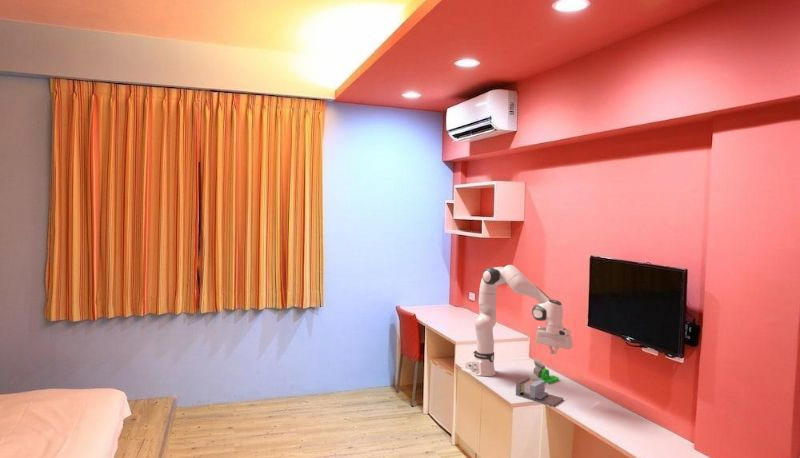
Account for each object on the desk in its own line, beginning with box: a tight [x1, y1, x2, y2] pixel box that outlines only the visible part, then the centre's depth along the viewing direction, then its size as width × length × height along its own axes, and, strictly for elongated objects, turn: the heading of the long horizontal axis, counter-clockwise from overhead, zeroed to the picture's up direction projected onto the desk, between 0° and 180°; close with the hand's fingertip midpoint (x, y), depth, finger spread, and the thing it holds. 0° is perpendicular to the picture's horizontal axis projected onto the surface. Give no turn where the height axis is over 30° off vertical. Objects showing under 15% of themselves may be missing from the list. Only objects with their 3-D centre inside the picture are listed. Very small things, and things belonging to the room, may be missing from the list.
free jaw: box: [530, 379, 550, 399], centre depth 282 cm, size 7×13×7 cm, turn 139°
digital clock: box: [533, 359, 547, 378], centre depth 320 cm, size 14×8×9 cm, turn 177°
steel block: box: [523, 379, 536, 396], centre depth 286 cm, size 5×8×6 cm, turn 139°
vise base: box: [515, 376, 564, 408], centre depth 282 cm, size 23×13×8 cm, turn 49°
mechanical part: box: [540, 368, 560, 385], centre depth 311 cm, size 12×6×8 cm, turn 129°
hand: (553, 353), depth 276 cm, fingers closed
